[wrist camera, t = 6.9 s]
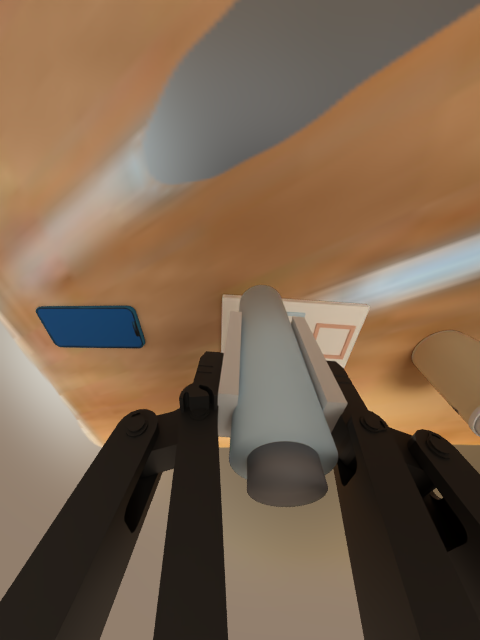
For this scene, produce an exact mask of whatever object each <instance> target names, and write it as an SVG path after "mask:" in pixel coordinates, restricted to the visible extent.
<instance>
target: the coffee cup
mask: <svg viewBox="0 0 480 640" xmlns="http://www.w3.org/2000/svg"><path fill="white" fill-rule="evenodd" d="M412 361H413V363H414V365H415V366H416V367H417V368H418V369H419V371H420V372H421V373H422V374H423V375H424V376H425V377H426V378H427V380H428V381H429V382H430V383H431V384H432V385H433V386H434V387H435V389H436V390H437V391H438V392H439V393H440V394H441V395H442V396H443V398H444V399H445V400H446V401H447V402H448V403H449V404H450V405H451V406H452V408H453V409H454V410H455V411H456V412H457V413H458V414H459V415H460V416H461V417H462V418H463V420H464V421H465V422H466V423H467V424H468V425H469V427H470V429H471V430H472V431H473V432H474V433H475V434H476V435H478V436H479V437H480V341H478V340H476V339H474V338H472V337H470V336H468V335H465V334H463V333H461V332H459V331H454V330H446V331H441V332H437V333H434V334H432V335H430V336H428V337H426V338H425V339H423V340H422V341H421V342H420V343H419V344H418V345H417V346H416V347H415V349H414V350H413V353H412Z"/></svg>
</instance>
